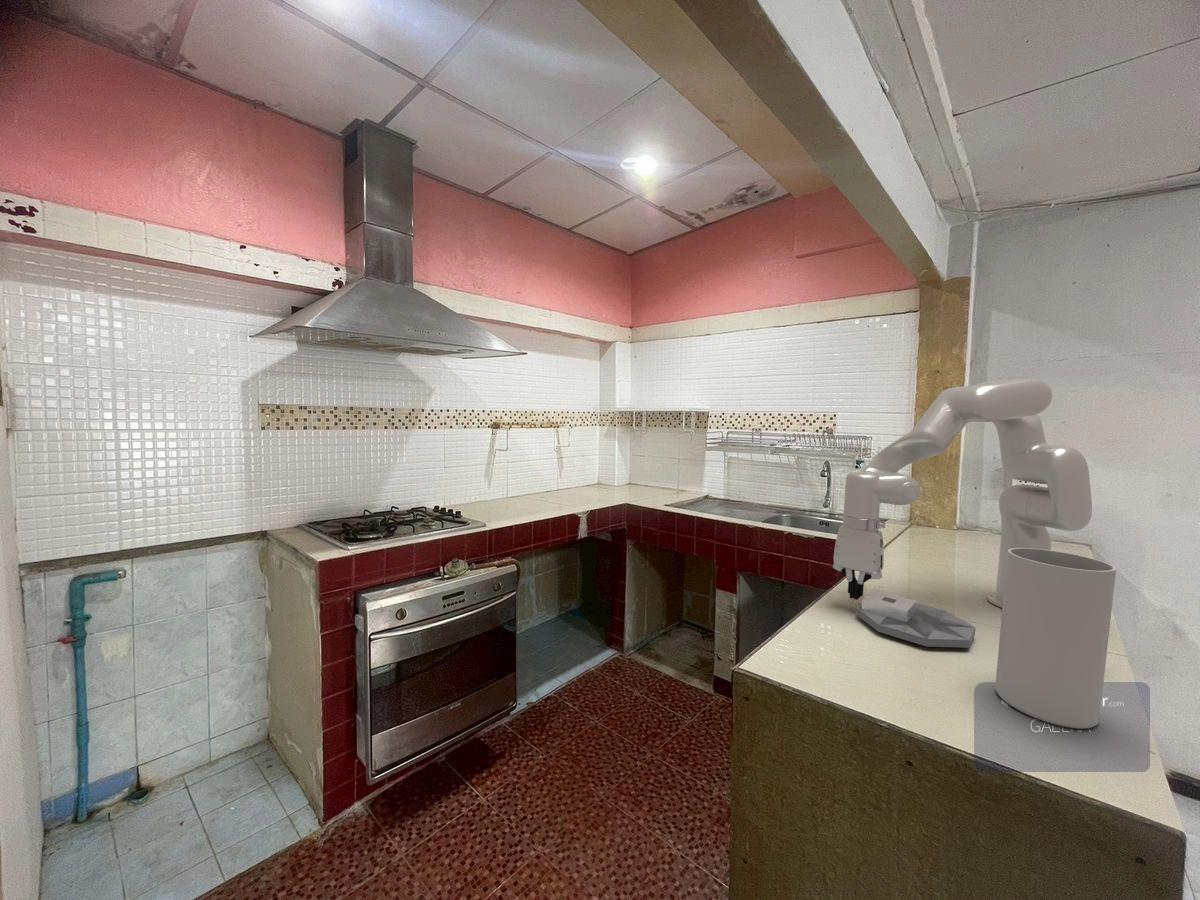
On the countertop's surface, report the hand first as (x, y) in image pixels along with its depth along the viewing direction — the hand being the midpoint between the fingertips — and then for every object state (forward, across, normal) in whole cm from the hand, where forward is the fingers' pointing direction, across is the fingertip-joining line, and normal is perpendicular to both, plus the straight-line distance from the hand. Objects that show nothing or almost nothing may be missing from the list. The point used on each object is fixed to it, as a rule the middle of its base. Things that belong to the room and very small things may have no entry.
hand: (855, 597), depth 114 cm
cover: (+1, -7, 0) cm, 7 cm away
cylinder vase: (+4, -34, +18) cm, 39 cm away
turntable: (+4, -12, 0) cm, 13 cm away
